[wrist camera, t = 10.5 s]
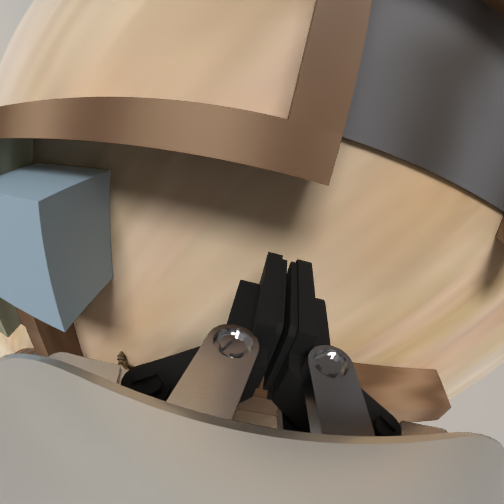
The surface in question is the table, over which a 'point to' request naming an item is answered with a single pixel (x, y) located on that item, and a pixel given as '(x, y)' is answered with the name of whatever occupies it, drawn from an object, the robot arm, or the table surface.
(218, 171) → the table surface
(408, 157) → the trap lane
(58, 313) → the slate block
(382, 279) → the table surface
